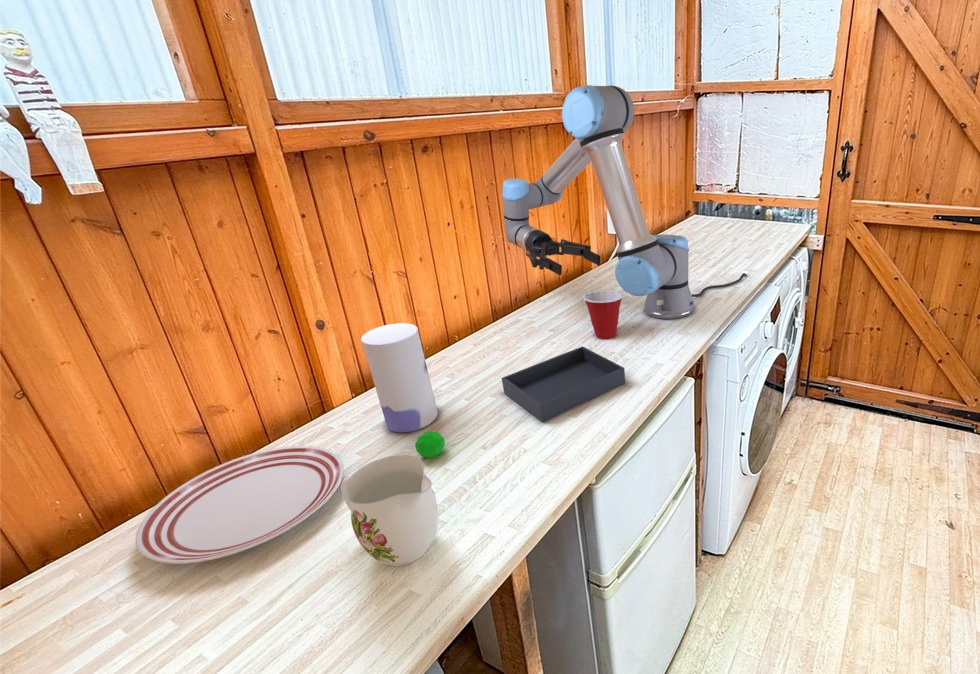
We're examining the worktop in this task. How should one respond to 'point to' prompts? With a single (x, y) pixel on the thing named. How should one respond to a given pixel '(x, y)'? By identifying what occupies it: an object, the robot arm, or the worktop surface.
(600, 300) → the plastic cup
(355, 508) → the pitcher
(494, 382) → the worktop surface
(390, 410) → the container
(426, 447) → the polyhedron
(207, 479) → the dinner plate
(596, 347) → the worktop surface
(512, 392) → the dark grey tray
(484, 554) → the worktop surface
